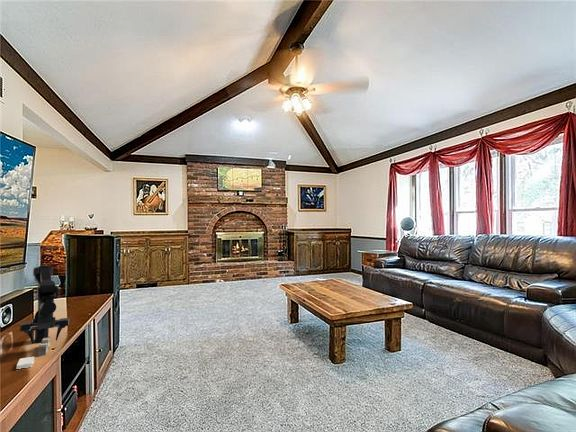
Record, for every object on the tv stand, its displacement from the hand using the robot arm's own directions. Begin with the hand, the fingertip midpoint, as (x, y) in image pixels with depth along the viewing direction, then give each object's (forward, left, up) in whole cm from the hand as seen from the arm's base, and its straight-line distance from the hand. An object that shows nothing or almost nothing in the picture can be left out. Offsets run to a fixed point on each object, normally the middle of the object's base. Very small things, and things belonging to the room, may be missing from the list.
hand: (44, 342), depth 157 cm
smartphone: (-45, +1, -4) cm, 45 cm away
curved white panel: (+2, 0, -4) cm, 4 cm away
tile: (+14, -5, -3) cm, 15 cm away
